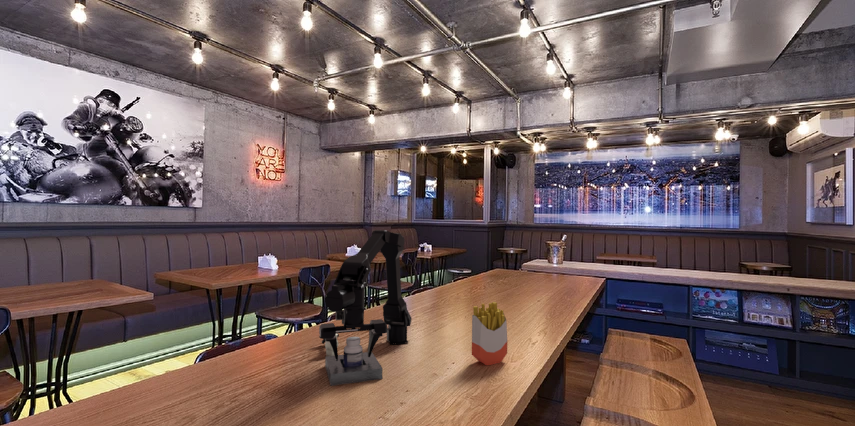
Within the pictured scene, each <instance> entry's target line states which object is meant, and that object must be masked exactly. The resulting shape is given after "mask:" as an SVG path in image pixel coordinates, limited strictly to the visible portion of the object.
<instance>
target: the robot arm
mask: <svg viewBox="0 0 855 426" xmlns="http://www.w3.org/2000/svg"><path fill="white" fill-rule="evenodd" d="M404 245H405V237H404V236H403V235H402V233H398V232H396V233H395V232H391V231H389V230H386V229H375V230H373V231H372V232H371V235H370V237H369V238H368V239H367V241H366V242H365V243H364V244H363V246H362V247H361V248H360V249H359V251H358V252H357V253H355V254H353V255H351V256H349V257H347V259H345V260H344V261H343V262H342V264H341V266H340V267H339V271H338V273H337V276H336V278H335V279H334V282H333V285H332V286H331V290H330V291H328V292H327V293H326V296H325V298H324V303H325V306H326V309H328V310H329V311H330V312H333V313H335V316H334V317H335V321H341V324H342V325H339V326H337V325H335V323H334V322H329V323H321V324H320V325H319V328H318V329H319V332H318V333H319V336H320V337H321V338H320V337H319V338H320V339H322V340H323V339H325V341H327V342H328V341H329V342H330V344H331V346H332V348H333V352H334V356H335V359H336V361H338V355H339V350H338V347H337V340H338V338H337V339H336V337H335V335H336V333H338V334H344V333H356V332H367V331H368V346H367V352H368V357H370V356H371V353H373V351H374V349H375V346H376V344H377V342H378V340H379V338H381V337H383V336H384V334H386V341H387V342H388V343H389V344H390V345H391V346H392V345H401V344H409V340H408V327H410V326H411V324H412V320H413V319H412V316H411V315H410V312H409V310H408V306H407V302H406V301H405V299H404V298H403V295H402V283H401V281H402V280H401V263H400V262H401V260H400V256H401V255H402V254H403V252H404V249H405V248H404V247H405V246H404ZM379 252H380V253H381V254H382V256H383V258H384V259H385V270H386V271H385V272H386V289H387V291H386V292H387V300H386V301H385V303H384V304H383V305H382V310H383V311H382V316H383V317H382V318H383V319H382V318H380V319H371V320H370V322H369V323H365V319H364V318H365V287H368V283H367V282H366V280H367V278H368V277H369V274H370V272H371V264H372V262H373V260H374V259H375V258H376V257H377V256H378V254H379Z"/></svg>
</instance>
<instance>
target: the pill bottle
mask: <svg viewBox="0 0 855 426" xmlns="http://www.w3.org/2000/svg"><path fill="white" fill-rule="evenodd" d="M345 344H346V345H345V346H344V348H343V355H344V361H343V368H344V367H353V366H361V365H362V354H363V350H364V349H363V346H362V345H361V337H360V336H348V337H347V338H346V340H345Z"/></svg>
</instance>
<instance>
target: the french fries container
mask: <svg viewBox="0 0 855 426" xmlns="http://www.w3.org/2000/svg"><path fill="white" fill-rule="evenodd" d="M472 310H473V311H472V312H473V314H471V318H472V319H471V325H472V326H471V355H472V356H473V358H474V359H476V360H477V361H478V362H480V363H481V364H483V365H485V366H491V365H495V364H500V363H502V361H503V360H504V359H505V357H506V356H507V354H508V327H507V318H506V316H505V313H504V310H503V309H500V308H498V302H496V301H493V302H490V303H489V302H488V307H486V305H485V303H481V307H478V306H477V305H475V306H472Z"/></svg>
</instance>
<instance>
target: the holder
mask: <svg viewBox="0 0 855 426" xmlns="http://www.w3.org/2000/svg"><path fill="white" fill-rule="evenodd" d="M324 359H325V360H324V361H325V362H324V366H325V367H324V368H325V371H326V375H327V378H328V382H329V385H330V386H331V387H332V386H340V385H347V384H355V383H362V382H369V381H378V380H383V367H382V365H381V363H380V362H379V360H378V359H377V357H376V356H375V354H374V353H373V352H372V353H371V356H370V357H368V351H365V352H363V354H362V365H361V366H353V367H344V368H343V361H344V354H338V361H336V359H335V355H334V356H327V355H326V356H325V358H324Z"/></svg>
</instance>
